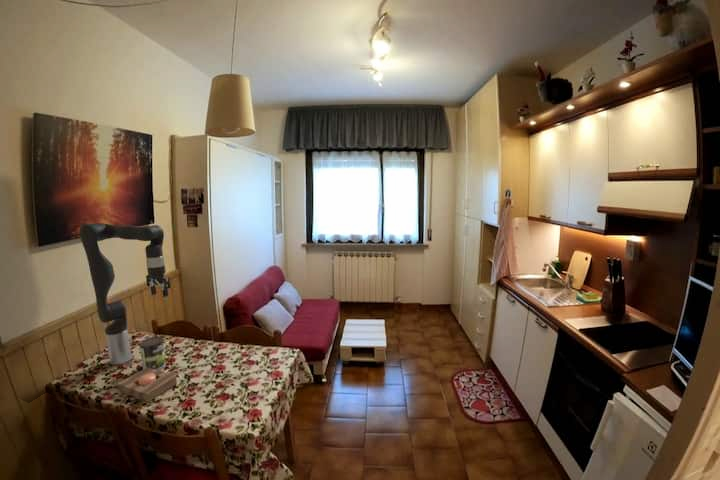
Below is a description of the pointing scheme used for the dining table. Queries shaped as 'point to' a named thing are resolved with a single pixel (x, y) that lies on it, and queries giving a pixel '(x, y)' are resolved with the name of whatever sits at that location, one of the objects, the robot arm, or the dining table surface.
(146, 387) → the wooden board
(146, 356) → the coffee can
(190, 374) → the dining table surface
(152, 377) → the pink flattened oval
